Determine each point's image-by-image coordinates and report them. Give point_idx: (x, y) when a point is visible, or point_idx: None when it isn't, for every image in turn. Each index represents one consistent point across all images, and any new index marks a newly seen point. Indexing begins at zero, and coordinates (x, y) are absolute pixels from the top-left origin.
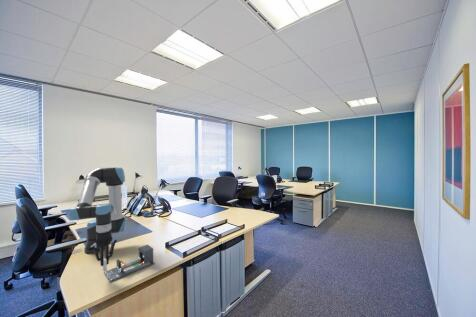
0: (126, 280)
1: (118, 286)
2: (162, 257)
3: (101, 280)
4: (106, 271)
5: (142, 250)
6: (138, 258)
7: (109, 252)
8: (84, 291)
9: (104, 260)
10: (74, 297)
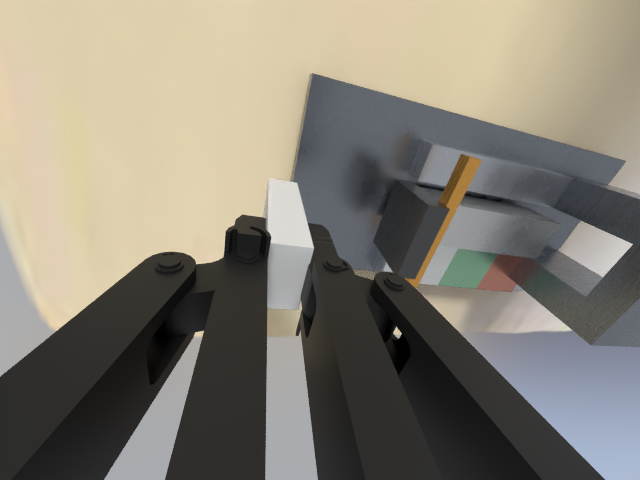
0: None
1: (290, 317)
2: (605, 247)
3: (252, 172)
4: (330, 90)
5: (617, 317)
6: (542, 237)
7: (403, 328)
8: (116, 212)
9: (269, 306)
10: (45, 228)
